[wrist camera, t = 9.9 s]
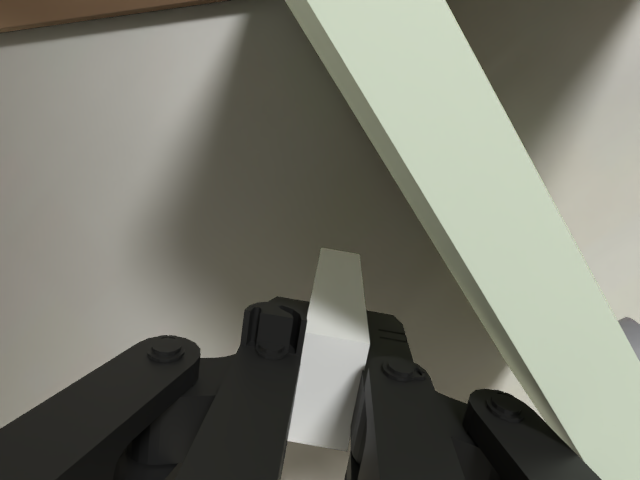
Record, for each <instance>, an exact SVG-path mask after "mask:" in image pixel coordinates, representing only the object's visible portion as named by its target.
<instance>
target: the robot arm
mask: <svg viewBox="0 0 640 480" xmlns="http://www.w3.org/2000/svg"><path fill="white" fill-rule="evenodd" d="M350 436H351V452H350V456H349V461H348V466H347V470H346V475H345V480H602V479H601V478H600V477H599V476H598V475H597V474H596V473H595V472H594V471H593V470H592V469H591V468H590V467H589V466H588V465H587V464H586V463H585V462H584V461H583V460H582V459H581V458H580V457H579V456H578V455H577V454H576V453H575V452H574V451H573V450H572V449H571V448H570V447H569V446H568V445H567V444H566V443H565V442H564V441H563V440H562V439H561V438H560V437H559V436H558V435H557V434H556V433H555V432H554V431H553V430H552V429H551V428H550V427H549V426H548V425H547V424H546V423H545V422H544V421H543V420H542V419H541V417H540V416H539V415H538V414H537V413H536V412H535V411H534V410H532V409H531V408H530V407H529V406H527V405H526V404H525V403H524V402H522V401H520V400H519V399H517V398H515V397H514V396H512V395H510V394H508V393H503V392H502V391H499V390H490V389H480V390H475V391H474V392H473V393H471V394H470V397H469V400H468V404H466V403H463V402H460V401H458V400H455V399H452V398H449V397H447V396H445V395H442V394H440V393H438V392H436V391H435V390H434V387H433V384H432V381H431V378H430V377H429V375H428V373H427V372H426V371H425V370H424V369H423V368H421V367H420V366H419V365H418V364H415V363H414V362H413V359H412V355H411V352H410V348H409V345H408V343H407V338H406V335H405V331H404V328H403V324H402V323H401V322H400V321H399V320H397V319H396V318H395V317H394V316H393V315H389V314H383V313H377V312H371V311H366V304H365V296H364V287H363V278H362V270H361V261H360V254H356V253H350V252H344V251H339V250H333V249H327V248H321V250H320V255H319V260H318V265H317V270H316V275H315V280H314V285H313V290H312V294H311V299H310V302H306V301H300V300H294V299H288V298H283V297H276V298H274V299H272V300H270V301H269V302H259V303H256V304H252V305H250V306H249V307H247V308H246V309H245V312H244V320H243V328H242V336H241V344H240V347H239V349H238V351H237V353H236V354H234V355H231V356H227V357H219V358H200V348H199V347H198V346H197V345H196V343H194V342H192V341H190V340H188V339H186V338H182V337H177V336H172V335H169V336H168V335H162V336H158V337H153V338H148V339H146V340H144V341H141V342H139V343H137V344H136V345H134V346H132V347H131V348H129V349H127V350H126V351H124V352H123V353H121V354H119V355H118V356H116V357H115V358H113V359H111V360H110V361H108V362H107V363H105V364H103V365H102V366H100V367H99V368H97V369H95V370H94V371H92V372H91V373H89V374H87V375H86V376H84V377H83V378H81V379H79V380H78V381H76V382H75V383H73V384H71V385H70V386H68V387H67V388H65V389H63V390H62V391H60V392H59V393H57V394H55V395H54V396H52V397H51V398H49V399H47V400H46V401H44V402H43V403H41V404H39V405H38V406H36V407H35V408H33V409H31V410H30V411H28V412H27V413H25V414H23V415H22V416H20V417H19V418H17V419H15V420H14V421H12V422H11V423H9V424H7V425H6V426H4V427H3V428H1V429H0V480H280V479H281V474H282V468H283V463H284V458H285V452H286V446H287V441H291V442H297V443H302V444H308V445H313V446H319V447H324V448H330V449H336V450H341V451H347V450H348V445H349V440H350Z"/></svg>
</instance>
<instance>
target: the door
mask: <svg viewBox="0 0 640 480" xmlns="http://www.w3.org/2000/svg"><path fill="white" fill-rule="evenodd" d="M285 2H286V3H287V5H288V7H289V8H290V10H291V11H292V13H293V15H294V16H295V18H296V20H297V21H298V23H299V25H300V26H301V28H302V29H303V31H304V33H305V34H306V36H307V38H308V39H309V41H310V43H311V44H312V46H313V47H314V49H315V51H316V52H317V54H318V56H319V57H320V59H321V61H322V62H323V64H324V65H325V67H326V69H327V70H328V72H329V74H330V75H331V77H332V79H333V80H334V82H335V83H336V85H337V87H338V88H339V90H340V92H341V93H342V95H343V97H344V98H345V100H346V101H347V103H348V105H349V106H350V108H351V110H352V111H353V113H354V115H355V116H356V118H357V119H358V121H359V123H360V124H361V126H362V128H363V129H364V131H365V133H366V134H367V136H368V137H369V139H370V141H371V142H372V144H373V146H374V147H375V149H376V151H377V152H378V154H379V155H380V157H381V159H382V160H383V162H384V164H385V165H386V167H387V169H388V170H389V172H390V173H391V175H392V177H393V178H394V180H395V182H396V183H397V185H398V187H399V188H400V190H401V191H402V193H403V195H404V196H405V198H406V200H407V201H408V203H409V205H410V206H411V208H412V209H413V211H414V213H415V214H416V216H417V218H418V219H419V221H420V223H421V224H422V226H423V227H424V229H425V231H426V232H427V234H428V236H429V237H430V239H431V241H432V242H433V244H434V245H435V247H436V249H437V250H438V252H439V254H440V255H441V257H442V258H443V260H444V262H445V263H446V265H447V267H448V268H449V270H450V272H451V273H452V275H453V276H454V278H455V280H456V281H457V283H458V285H459V286H460V288H461V290H462V291H463V293H464V294H465V296H466V298H467V299H468V301H469V303H470V304H471V306H472V308H473V309H474V311H475V312H476V314H477V316H478V317H479V319H480V321H481V322H482V324H483V326H484V327H485V329H486V330H487V332H488V334H489V335H490V337H491V339H492V340H493V342H494V344H495V345H496V347H497V348H498V350H499V352H500V353H501V355H502V357H503V358H504V360H505V362H506V363H507V365H508V366H509V368H510V369H511V371H512V372H513V374H514V375H515V377H516V378H517V380H518V381H519V383H520V384H521V386H522V387H523V389H524V390H525V392H526V393H527V395H528V396H529V398H530V399H531V401H532V402H533V404H534V405H535V407H536V408H537V410H538V411H539V413H540V414H541V416H542V417H543V419H544V420H545V422H546V423H547V425H548V426H549V427H550V428H551V429H552V430H553V431H554V432H555V433H556V434H557V435H558V436H559V437H560V438H561V439H562V440H563V441H564V442H565V443H566V444H567V445H568V446H569V447H570V448H571V449H572V450H573V451H574V452H575V453H576V454H577V455H578V456H579V457H580V458H581V459H582V460H583V461H584V462H585V463H586V464H587V465H588V466H589V467H590V468H591V469H592V470H593V471H594V472H595V473H596V474H597V475H598V476H599V477H600V478H601V479H602V480H640V324H638V323H637V322H636V321H634V320H633V319H631V318H629V317H625V318H623V319H621V320H619V321H618V320H617V319H616V317H615V315H614V313H613V311H612V309H611V307H610V306H609V304H608V302H607V300H606V298H605V296H604V294H603V293H602V291H601V289H600V287H599V285H598V283H597V281H596V280H595V278H594V276H593V274H592V272H591V270H590V268H589V267H588V265H587V263H586V261H585V259H584V257H583V255H582V254H581V252H580V250H579V248H578V246H577V244H576V242H575V240H574V239H573V237H572V235H571V233H570V231H569V229H568V227H567V226H566V224H565V222H564V220H563V218H562V216H561V214H560V213H559V211H558V209H557V207H556V205H555V203H554V201H553V200H552V198H551V196H550V194H549V192H548V190H547V188H546V187H545V185H544V183H543V181H542V179H541V177H540V175H539V174H538V172H537V170H536V168H535V166H534V164H533V162H532V161H531V159H530V157H529V155H528V153H527V151H526V149H525V147H524V146H523V144H522V142H521V140H520V138H519V136H518V134H517V133H516V131H515V129H514V127H513V125H512V123H511V121H510V120H509V118H508V116H507V114H506V112H505V110H504V108H503V107H502V105H501V103H500V101H499V99H498V97H497V95H496V94H495V92H494V90H493V88H492V86H491V84H490V82H489V81H488V79H487V77H486V75H485V73H484V71H483V69H482V68H481V66H480V64H479V62H478V60H477V58H476V56H475V54H474V53H473V51H472V49H471V47H470V45H469V43H468V41H467V40H466V38H465V36H464V34H463V32H462V30H461V28H460V27H459V25H458V23H457V21H456V19H455V17H454V15H453V14H452V12H451V10H450V8H449V6H448V4H447V2H446V1H445V0H285Z"/></svg>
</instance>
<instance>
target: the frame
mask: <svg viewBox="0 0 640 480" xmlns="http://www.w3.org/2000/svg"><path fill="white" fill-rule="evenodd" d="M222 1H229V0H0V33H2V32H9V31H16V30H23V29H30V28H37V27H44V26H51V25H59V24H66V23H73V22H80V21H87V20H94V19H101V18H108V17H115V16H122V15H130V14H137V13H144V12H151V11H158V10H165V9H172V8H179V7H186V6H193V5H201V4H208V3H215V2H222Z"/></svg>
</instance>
